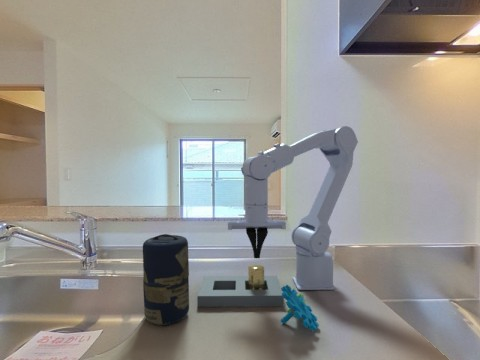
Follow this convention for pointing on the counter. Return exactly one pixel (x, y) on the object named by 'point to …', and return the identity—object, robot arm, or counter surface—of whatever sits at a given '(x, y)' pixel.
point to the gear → (298, 308)
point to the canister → (165, 278)
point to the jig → (238, 292)
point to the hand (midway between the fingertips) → (256, 257)
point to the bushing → (256, 277)
